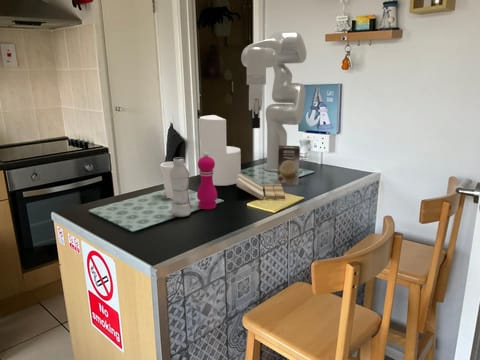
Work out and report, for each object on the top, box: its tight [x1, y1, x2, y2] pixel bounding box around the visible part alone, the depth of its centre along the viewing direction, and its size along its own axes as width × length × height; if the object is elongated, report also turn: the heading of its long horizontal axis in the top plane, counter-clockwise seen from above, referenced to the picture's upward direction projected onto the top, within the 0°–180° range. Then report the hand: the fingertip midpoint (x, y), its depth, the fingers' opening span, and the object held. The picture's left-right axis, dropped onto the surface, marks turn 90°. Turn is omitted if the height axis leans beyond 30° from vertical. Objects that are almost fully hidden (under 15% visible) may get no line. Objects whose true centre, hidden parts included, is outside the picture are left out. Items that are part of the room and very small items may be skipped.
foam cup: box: [159, 161, 186, 200], centre depth 155 cm, size 10×9×13 cm
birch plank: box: [236, 171, 265, 201], centre depth 158 cm, size 16×11×2 cm
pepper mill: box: [196, 153, 218, 210], centre depth 142 cm, size 7×7×20 cm
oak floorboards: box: [263, 183, 286, 200], centre depth 159 cm, size 16×7×2 cm, turn 179°
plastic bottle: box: [170, 156, 192, 218], centre depth 134 cm, size 6×7×20 cm
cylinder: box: [199, 114, 242, 186], centre depth 175 cm, size 17×17×28 cm
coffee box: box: [276, 145, 301, 186], centre depth 171 cm, size 9×6×16 cm
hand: (255, 127), depth 161 cm, fingers closed
